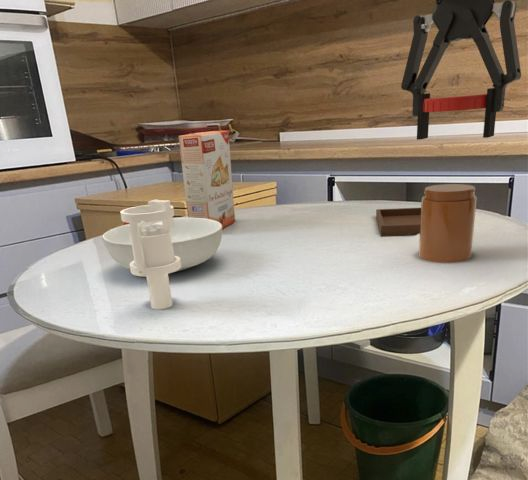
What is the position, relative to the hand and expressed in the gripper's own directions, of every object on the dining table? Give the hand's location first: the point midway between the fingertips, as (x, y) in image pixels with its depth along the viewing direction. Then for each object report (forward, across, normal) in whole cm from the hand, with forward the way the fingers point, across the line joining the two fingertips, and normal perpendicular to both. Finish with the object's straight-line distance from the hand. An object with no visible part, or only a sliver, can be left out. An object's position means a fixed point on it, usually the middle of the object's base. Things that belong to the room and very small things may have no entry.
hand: (454, 137), depth 82 cm
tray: (+19, -15, +21) cm, 32 cm away
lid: (-5, 0, 0) cm, 5 cm away
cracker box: (+19, -56, +4) cm, 60 cm away
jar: (+19, 0, 0) cm, 19 cm away
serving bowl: (+19, -42, -24) cm, 52 cm away
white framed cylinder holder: (+19, -27, -40) cm, 52 cm away
